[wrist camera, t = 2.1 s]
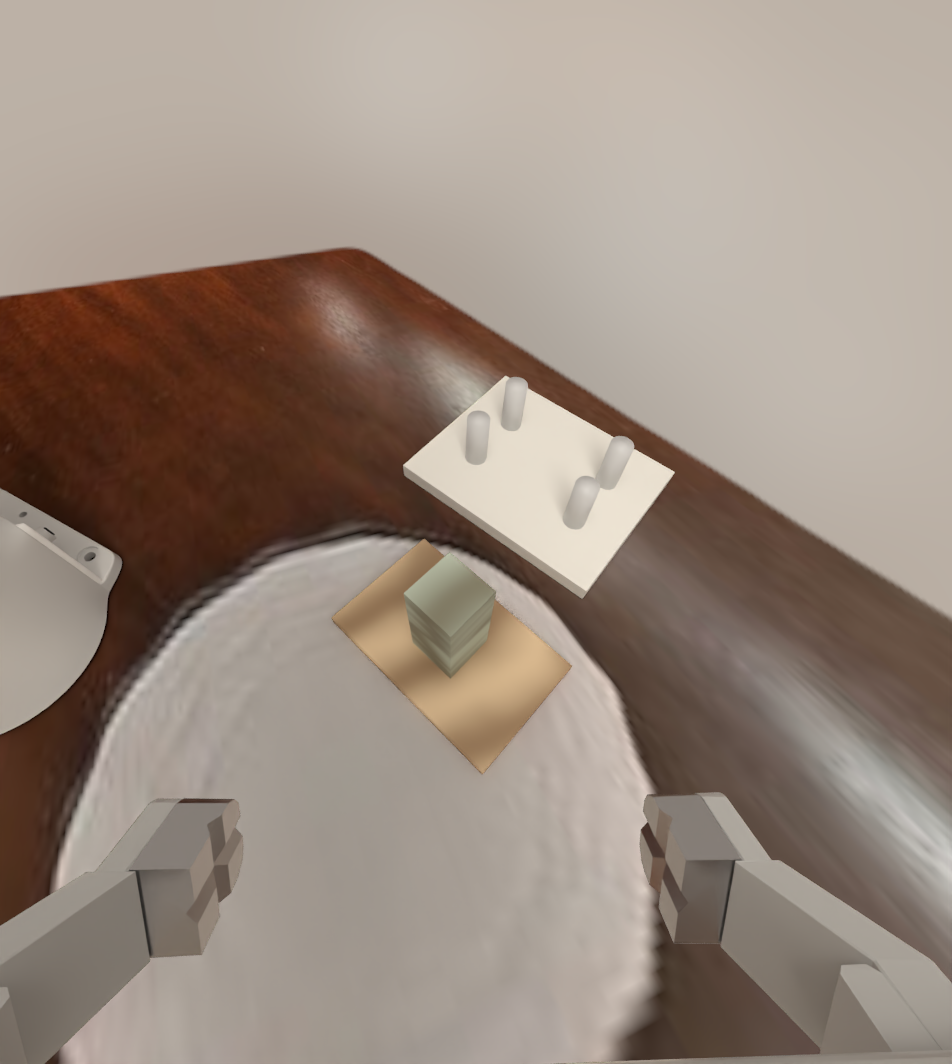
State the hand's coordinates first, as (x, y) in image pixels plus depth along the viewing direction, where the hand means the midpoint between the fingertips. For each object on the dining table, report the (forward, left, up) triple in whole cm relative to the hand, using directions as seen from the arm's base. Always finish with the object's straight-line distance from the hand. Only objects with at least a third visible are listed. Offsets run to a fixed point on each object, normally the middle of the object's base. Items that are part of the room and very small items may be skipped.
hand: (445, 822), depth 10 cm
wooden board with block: (-8, +10, -27) cm, 29 cm away
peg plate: (-12, +28, -26) cm, 40 cm away
